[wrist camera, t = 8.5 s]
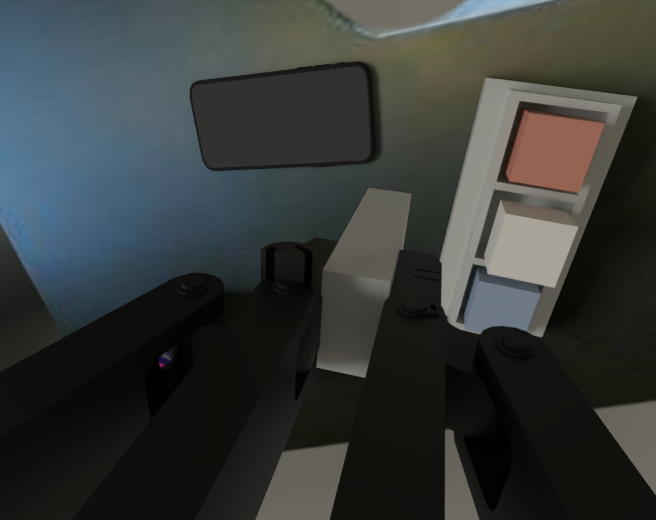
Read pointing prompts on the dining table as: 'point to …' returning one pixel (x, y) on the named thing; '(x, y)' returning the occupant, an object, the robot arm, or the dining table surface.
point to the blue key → (499, 302)
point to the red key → (552, 149)
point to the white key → (529, 243)
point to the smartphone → (286, 118)
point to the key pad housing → (493, 185)
